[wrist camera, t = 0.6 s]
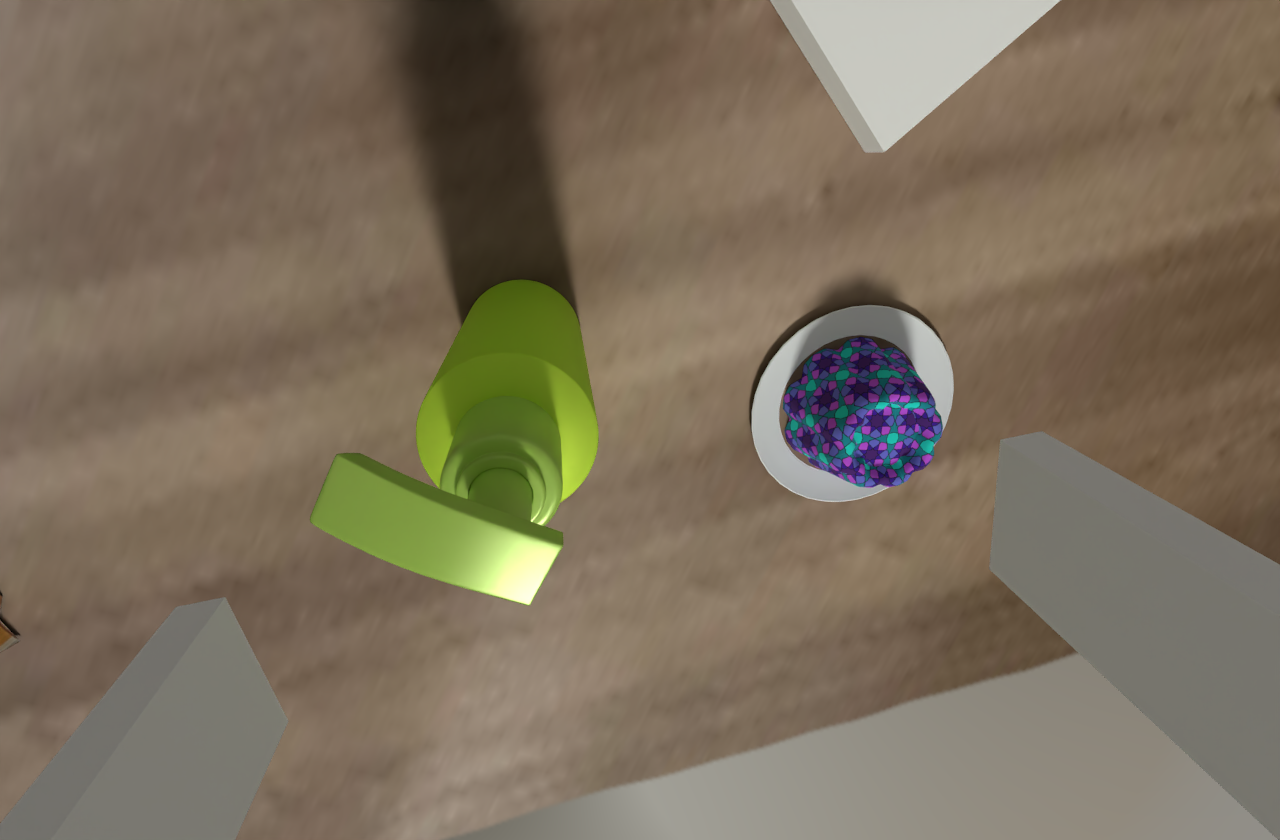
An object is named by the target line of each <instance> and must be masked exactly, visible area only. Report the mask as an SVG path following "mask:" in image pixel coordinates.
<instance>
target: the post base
mask: <svg viewBox="0 0 1280 840" xmlns="http://www.w3.org/2000/svg"><path fill="white" fill-rule="evenodd" d="M770 1H771V3H772V4H773V6H774V8H775V9H776V11H777V12H778V14H779V16H780V17H781V19H782V20H783V22H784V24H785V25H786V27H787V28H788V30H789V32H790V33H791V35H792V36H793V38H794V40H795V41H796V43H797V44H798V46H799V48H800V49H801V51H802V52H803V54H804V56H805V57H806V59H807V60H808V62H809V64H810V65H811V67H812V68H813V70H814V72H815V73H816V75H817V76H818V78H819V80H820V81H821V83H822V84H823V86H824V88H825V89H826V91H827V92H828V94H829V96H830V97H831V99H832V100H833V102H834V104H835V105H836V107H837V108H838V110H839V112H840V113H841V115H842V116H843V118H844V120H845V121H846V123H847V124H848V126H849V128H850V129H851V131H852V132H853V134H854V136H855V137H856V139H857V140H858V142H859V144H860V145H861V147H862V149H863V150H864V152H885V151H886V150H887V149H889V148H890V147H891V146H892V145H893V144H894V143H896V142H897V141H898V140H899V139H900V138H901V137H902V136H904V135H905V134H906V133H907V132H908V131H909V130H911V129H912V128H913V127H914V126H915V125H916V124H918V123H919V122H920V121H921V120H922V119H923V118H924V117H926V116H927V115H928V114H929V113H930V112H931V111H933V110H934V109H935V108H936V107H937V106H938V105H940V104H941V103H942V102H943V101H944V100H945V99H947V98H948V97H949V96H950V95H951V94H952V93H953V92H955V91H956V90H957V89H958V88H959V87H960V86H962V85H963V84H964V83H965V82H966V81H967V80H969V79H970V78H971V77H972V76H973V75H974V74H975V73H977V72H978V71H979V70H980V69H981V68H982V67H984V66H985V65H986V64H987V63H988V62H989V61H991V60H992V59H993V58H994V57H995V56H996V55H997V54H999V53H1000V52H1001V51H1002V50H1003V49H1004V48H1006V47H1007V46H1008V45H1009V44H1010V43H1011V42H1013V41H1014V40H1015V39H1016V38H1017V37H1018V36H1019V35H1021V34H1022V33H1023V32H1024V31H1025V30H1026V29H1028V28H1029V27H1030V26H1031V25H1032V24H1033V23H1035V22H1036V21H1037V20H1038V19H1039V18H1040V17H1041V16H1043V15H1044V14H1045V13H1046V12H1047V11H1048V10H1050V9H1051V8H1052V7H1053V6H1054V5H1055V4H1057V3H1058V2H1059V1H1060V0H770Z"/></svg>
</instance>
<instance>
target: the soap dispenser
mask: <svg viewBox="0 0 1280 840" xmlns="http://www.w3.org/2000/svg"><path fill="white" fill-rule="evenodd" d="M416 442H417V448H418V452H419V456H420V459H421V461H422V464H423V466H424V468H425V470H426V472H427V473H428V475H429V476H430V478H431V479H432V481H433V482H434V483H435V484H436V485H437V487H438V488H439V489H438V488H435V487H433V486H430V485H428V484H425V483H423V482H420V481H418V480H416V479H413V478H411V477H409V476H406V475H404V474H402V473H400V472H398V471H395V470H393V469H391V468H389V467H387V466H385V465H383V464H381V463H379V462H377V461H375V460H373V459H371V458H369V457H367V456H365V455H363V454H360V453H341V454H337V455H336V456H335V458H334V460H333V463H332V465H331V467H330V470H329V472H328V475H327V477H326V479H325V482H324V484H323V487H322V489H321V492H320V494H319V497H318V499H317V501H316V504H315V506H314V509H313V511H312V514H311V516H310V522H311V523H312V524H314V525H315V526H317V527H318V528H320V529H322V530H324V531H325V532H327V533H329V534H331V535H333V536H335V537H337V538H339V539H340V540H342V541H344V542H346V543H348V544H350V545H352V546H354V547H356V548H358V549H360V550H363V551H365V552H367V553H369V554H371V555H373V556H376V557H378V558H380V559H382V560H385V561H387V562H390V563H392V564H394V565H397V566H400V567H402V568H405V569H407V570H410V571H413V572H416V573H418V574H421V575H424V576H427V577H430V578H433V579H436V580H439V581H443V582H446V583H449V584H452V585H456V586H459V587H462V588H466V589H469V590H473V591H476V592H480V593H484V594H487V595H491V596H494V597H498V598H502V599H505V600H509V601H513V602H517V603H520V604H524V605H528V606H529V605H530V604H531V603H532V601H533V599H534V597H535V596H536V594H537V592H538V590H539V588H540V587H541V585H542V583H543V581H544V579H545V578H546V576H547V574H548V572H549V570H550V569H551V567H552V565H553V563H554V561H555V560H556V558H557V556H558V554H559V552H560V551H561V549H562V547H563V533H562V532H560V531H557V530H554V529H551V528H548V527H545V525H546V524H547V523H548V522H549V521H550V520H551V518H552V517H553V516H554V514H555V513H556V511H557V509H558V507H559V504H560V502H562V501H563V500H565V499H566V498H567V497H569V496H570V495H571V494H572V493H573V492H574V491H575V490H576V489H577V488H578V487H579V486H580V485H581V484H582V482H583V481H584V480H585V478H586V477H587V475H588V473H589V472H590V470H591V468H592V465H593V463H594V460H595V457H596V453H597V448H598V424H597V418H596V412H595V407H594V401H593V396H592V390H591V385H590V379H589V374H588V368H587V363H586V357H585V352H584V346H583V341H582V335H581V329H580V325H579V321H578V318H577V316H576V313H575V311H574V310H573V308H572V306H571V305H570V304H569V302H568V301H567V300H566V299H565V298H564V297H563V296H562V295H561V294H560V293H559V292H557V291H556V290H554V289H553V288H551V287H549V286H547V285H545V284H542V283H539V282H536V281H531V280H511V281H506V282H503V283H500V284H497V285H495V286H493V287H491V288H490V289H488V290H487V291H486V292H484V293H483V294H482V295H481V296H480V297H479V298H478V299H477V300H476V302H475V303H474V304H473V306H472V308H471V309H470V311H469V313H468V315H467V317H466V319H465V321H464V323H463V325H462V327H461V329H460V331H459V333H458V335H457V336H456V338H455V340H454V342H453V344H452V346H451V348H450V350H449V352H448V354H447V356H446V358H445V360H444V362H443V363H442V365H441V367H440V369H439V371H438V373H437V375H436V377H435V379H434V381H433V383H432V385H431V387H430V389H429V390H428V392H427V394H426V396H425V398H424V400H423V402H422V405H421V407H420V410H419V414H418V418H417V424H416Z"/></svg>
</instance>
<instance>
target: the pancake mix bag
mask: <svg viewBox="0 0 1280 840" xmlns="http://www.w3.org/2000/svg"><path fill="white" fill-rule="evenodd" d="M1 602H2V596H1V595H0V610H1ZM18 642H20V640H19V639H18V638H17V637H16V636H15V635H14V634H13V633H12V632H11V631H10V630H9V629H8V628H7V627H6V626H5V625H4V624H3V623H2V622H1V621H0V653H1V652H3V651H4V650H6V649H8V648H10V647H11V646H13V645H15V644H17V643H18Z"/></svg>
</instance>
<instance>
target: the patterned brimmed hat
mask: <svg viewBox="0 0 1280 840" xmlns="http://www.w3.org/2000/svg"><path fill="white" fill-rule="evenodd" d="M857 335H866V336H875V337H878V338H882V339H885V340H887V341H889V342H891V343H893V344H895V345H896V346H897V347H899V348H900V349H901V350H902V351H904V352H905V354H906V355H907V356H908V357H909V359H910V360H911V362H912V364H913V366H914V368H915V370H916V371H915V370H914V368H913V367H912V365H911V364H910V362H909V361H908V360H907V358H906V357H905V355H904V354H903V353H902V352H900V351H899V350H897V349H895V348H894V347H893V348H886V349H880V348H879V347H878V346H877V344H876V343H875V342H874V341H873V339H868V338H863V337H859V338H854V339H850V340H848V341H847V342H846V343H845V344H844V345H843V346H842V347H841V348H839V349H838V350H833V349H823V350H821V351H819V352H817V353H815V354H813V355H812V356H811V357H810V359H809V360H808V361H807V362H806V363H805V364H804V368H803V374H802V378H801V379H799V380H798V381H796V382H795V383H793V384H791V385H790V386H789V388H788V390H787V392H786V394H785V396H784V402H783V409H784V411H785V412H786V414H787V415H788V417H789V418H790V419H789V422H788V424H787V426H786V428H785V435H786V439H787V442H788V443H789V444H790V445H791V447H792V448H793V449H794V450H796V451H798V452H800V453H802V454H804V455H806V456H808V459H809V462H810V463H811V464H813V465H815V466H816V467H818V468H820V469H822V470H818V469H815V468H813V467H810V466H808V465H806V464H805V463H803V462H802V461H800V460H799V459H798V458H797V457H796V456H795V455H794V454H793V453H792V452H791V451H790V449H789V448H788V446H787V445H786V443H785V441H784V439H783V436H782V433H781V429H780V424H779V407H780V402H781V397H782V394H783V392H784V389H785V386H786V384H787V382H788V380H789V379H790V377H791V375H792V374H793V372H794V371H795V370H796V368H797V367H798V366H799V365H800V364H801V362H802V361H803V360H805V359H806V358H807V357H808V356H809V355H810V354H811V353H813V352H814V351H816V350H817V349H819V348H820V347H822V346H823V345H825V344H828V343H830V342H832V341H834V340H837V339H841V338H844V337H848V336H857ZM953 391H954V386H953V371H952V367H951V363H950V359H949V356H948V354H947V352H946V350H945V348H944V346H943V343H942V342H941V341H940V339H939V338H938V337H937V335H936V334H935V333H934V331H933V330H932V329H931V328H930V327H928V326H927V325H926V324H925V323H924V322H922V321H921V320H920V319H918V318H917V317H915V316H913V315H911V314H909V313H907V312H905V311H902V310H899V309H895V308H892V307H888V306H877V305H864V306H853V307H848V308H845V309H841V310H838V311H834V312H831V313H829V314H827V315H825V316H823V317H820V318H818V319H816V320H814V321H813V322H811V323H810V324H808V325H807V326H805V327H804V328H802V329H801V330H799V331H798V332H797V333H796V334H794V335H793V336H792V337H791V338H790V339H789V340H788V341H787V342H786V343H785V344H784V345H783V346H782V347H781V348H780V349H779V351H778V352H777V353H776V355H775V356H774V357H773V358H772V360H771V361H770V363H769V364H768V366H767V368H766V370H765V372H764V373H763V375H762V377H761V379H760V382H759V385H758V388H757V390H756V393H755V397H754V402H753V408H752V434H753V439H754V445H755V448H756V450H757V453H758V455H759V457H760V460H761V462H762V463H763V465H764V466H765V468H766V469H767V471H768V472H769V473H770V474H771V475H772V476H773V477H774V478H775V479H776V480H777V481H778V482H779V483H780V484H781V485H783V486H784V487H786V488H787V489H789V490H790V491H792V492H794V493H796V494H799V495H801V496H803V497H806V498H809V499H814V500H819V501H829V502H842V501H850V500H857V499H860V498H864V497H867V496H871V495H873V494H876V493H878V492H880V491H882V490H885V489H887V488H889V487H892V486H898V485H900V484H902V483H904V482H906V481H907V480H908V479H909V477H910V476H911V474H912V473H913V472H915V471H919V470H922V469H924V468H925V467H926V466H927V465H928V464H929V463H930V461H931V460H932V458H933V456H934V445H935V444H936V443H937V441H938V440H939V439H940V438H941V435H942V431H943V429H944V427H945V425H946V423H947V420H948V416H949V413H950V410H951V407H952V399H953ZM823 470H824V471H823Z"/></svg>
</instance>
